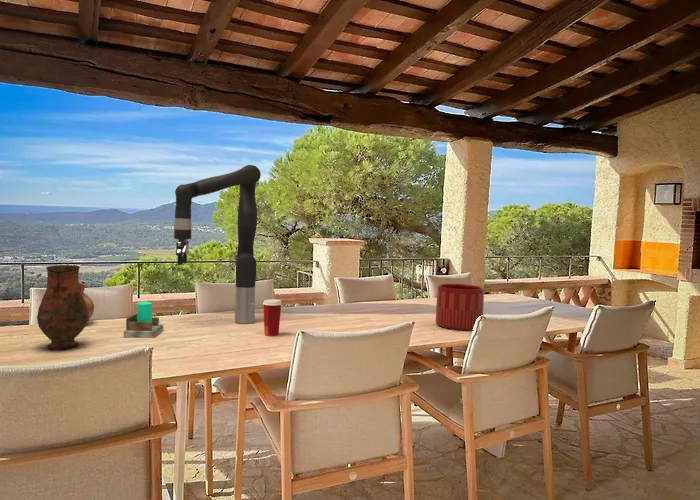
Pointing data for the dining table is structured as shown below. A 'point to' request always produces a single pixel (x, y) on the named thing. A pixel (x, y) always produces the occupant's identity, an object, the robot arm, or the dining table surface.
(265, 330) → the coffee cup
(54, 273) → the pitcher
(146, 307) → the candle
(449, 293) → the planter
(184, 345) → the dining table surface
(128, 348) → the dining table surface
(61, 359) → the dining table surface
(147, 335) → the dock
